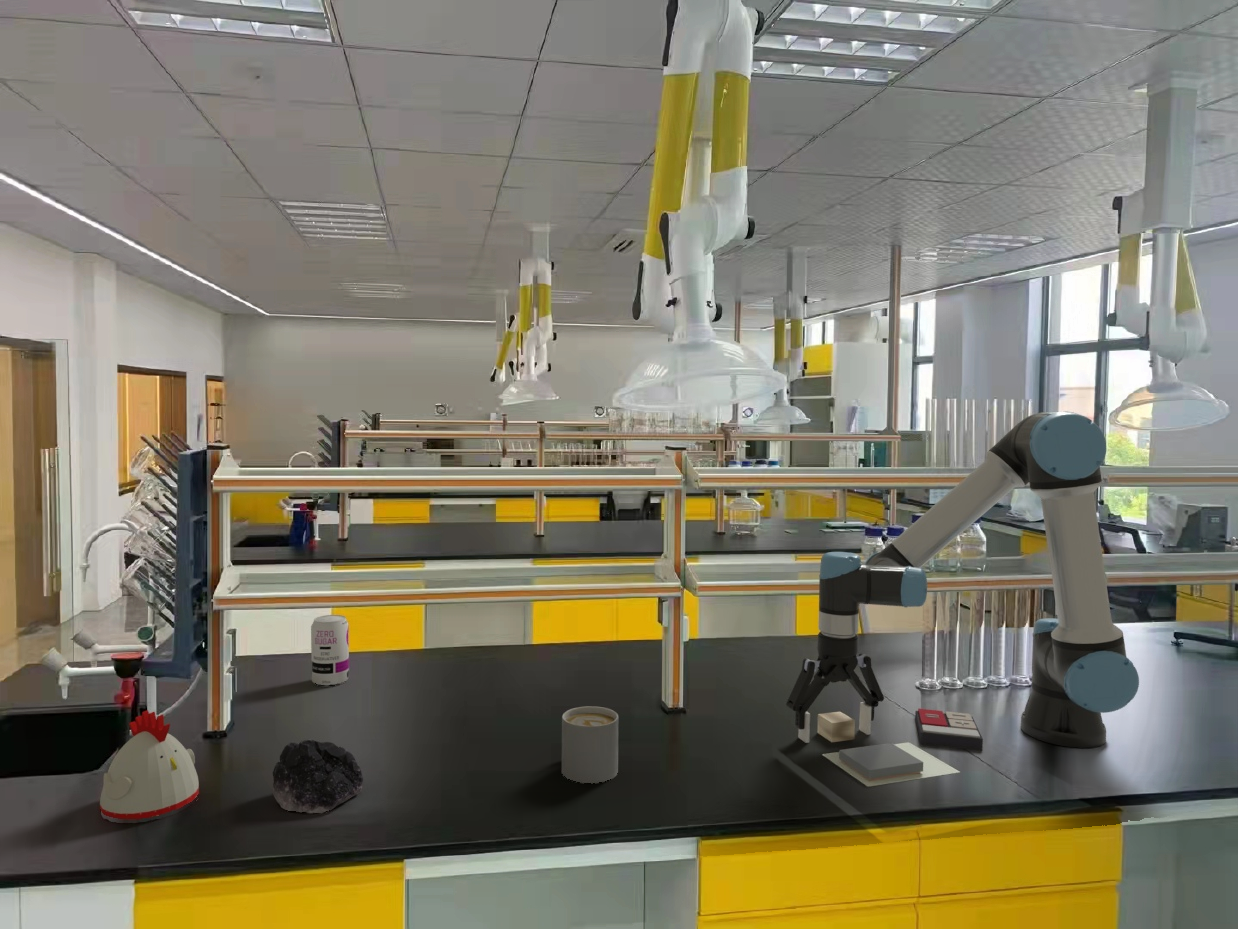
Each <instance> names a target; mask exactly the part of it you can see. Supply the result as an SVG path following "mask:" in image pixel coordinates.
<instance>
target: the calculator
mask: <svg viewBox="0 0 1238 929" xmlns="http://www.w3.org/2000/svg"><path fill="white" fill-rule="evenodd" d="M914 716H915V717H914V718H915V723H916V727H917V733H918V737H919V738H918V739H919V743H920V744H921V745H929V746H937V747H946V748H957V749H963V750H965V749H966V750H976V751H983V748H984V747H983V744H984V741H983V740H984V739H983V737H982V734H981V733H980V730H979V728H978V725H977V724H976V722H975V719H974V717H973V716H972V714H970V713H966V712H965V713H964V712H956V711H955V712H954V711H945V713H944V712H943V710H936V709H925V708H918V710H915V715H914Z"/></svg>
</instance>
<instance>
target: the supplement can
mask: <svg viewBox="0 0 1238 929" xmlns="http://www.w3.org/2000/svg"><path fill="white" fill-rule="evenodd" d="M310 630H311V631H310V634H311V636H310V637H311V639H310V643H311V644H310V645H311V646H310V648H311V650H310V651H311V654H310V656H311V681H312V683H313V684H315V683H316V684H321V685H330V684H337V683H341V682H344V681H348V679H349V678H350V654H349V653H350V649H349V648H350V642H349V640H350V638H349V637H350V636H349V635H350V634H349V631H350V630H349V622H348V620H347V618H346V616H345V615H340V614H326V615H320V616H317V617H315V618H314V619H313V622H312V624H311V626H310ZM344 683H345V682H344ZM316 684H315V685H316Z"/></svg>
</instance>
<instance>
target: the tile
mask: <svg viewBox="0 0 1238 929" xmlns="http://www.w3.org/2000/svg"><path fill="white" fill-rule="evenodd" d="M838 752H839V759H840V760H841V761H842V762H843V763H844V764H846V765H847V766H849V767H850V768H852V769H853V770H855V771H856V772H858V773H859V774H860V775H862V776H863V777H865V778H866V779H868V780H869V781H871V780H878V779H884V778H891V777H897V776H904V775H911V774H917V773H920V772H921V771H923V762H922V761H921V760H919V759H917V758H915V757H914V756H912V755H910V754H909V753H907V752H905V751H904V750H902V749H900V748H899V747H897V746H895V745H894V743H891V742H888V743H881V744H874V745H873V744H872V745H866V746H859V747H858V746H857V747H852V748H851V747H850V748H846V749H845V748H844V749H839V751H838Z"/></svg>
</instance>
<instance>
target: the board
mask: <svg viewBox="0 0 1238 929" xmlns="http://www.w3.org/2000/svg"><path fill="white" fill-rule="evenodd" d="M893 744H894V743H893ZM894 745H895V746H897V747H899V748H900V749H902V750H904V751H905V752H907V753H909V754H910V755H912V756H914V757H915V758H917V759H919V760H921V761H922V762H923V771H921V772H920V773H917V774H911V775H904V776H897V777H891V778H884V779H878V780H871V781H869V780H868V779H866V778H865V777H863V776H862V775H860V774H859V773H858V772H856V771H855V770H853V769H852V768H850V767H849V766H847V765H846V764H844V763H843V762H842V761H841V760H840V759H839V751H837V752H835V751H834V752H830V753H829V752H828V753H823V754H821V755H822V756H823V757H825V758H826V759H828V760H829V762H831V763H833V764H835V766H837V767H839V768H841V769H842V770H843V771H844V772H846V773H847V774H848V775H851V776H852V777H853V778H855V779H856V780H857V781H858V782H861V784H864V785H865V786H866V787H874V786H881V785H887V784H894V783H902V782H907V781H913V780H919V779H926V778H932V777H940V776H946V775H951V774H960V773H961V771H959V770H957V769H956V768H954V767H952V766H951V765H949V764H947V762H944V761H942V760H940V759H938V758H937V757H936V756H933V755H932V754H930V753H928V752H926V751H924V750H922V749H921V748H919V747H918V746H916V745H914V744H912V743H911V742H902V743H901V742H900V743H895V744H894Z"/></svg>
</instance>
